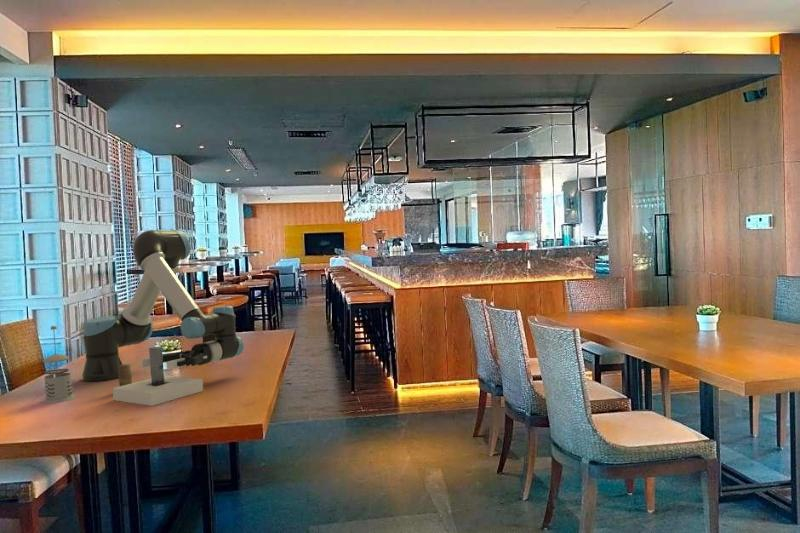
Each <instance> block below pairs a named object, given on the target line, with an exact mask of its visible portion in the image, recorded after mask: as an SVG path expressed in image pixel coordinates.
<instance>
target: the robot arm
mask: <svg viewBox="0 0 800 533" xmlns="http://www.w3.org/2000/svg"><path fill="white" fill-rule="evenodd" d="M191 248H192V246H191V242H190V239H189V237H188V235H187V234H186V233H185V232H184V231H182V230H179V229H170V230H169V229H167V230H166V229H165V230H164V229H163V230H160V229H159V230H158V229H157V230H156V229H154V230H153V229H151V230H145V231H143V232H141V233H140V234H139V235H138V236H137V237H136V238H135V240H134V242H133V245H132V253H133V257H134V260H135V262H136V263H137V265H138V266H139V268H140V270H142V271H144V272H143V274H142V276H141V279H140V281H139V283H138V285H137V288H136V290H135V292H134V294H133V297H132V298H131V300H130V303H129V305H128V306H127V307H125V308H123V309H122V311H121V313H120V316H118V317H116V316H115V315H104V316H100V317H95V318H92V319H89V320H87V321H85V323H84V324H83V333H82V334H83V337H84V338H83V339H84V349H85V350H84V351H85V363H84V367H83V371H82V374H81V375H82V376H81V377H82V381H84V382H102V381H108V380H113V379H115V380H116V379H117V378H118V379H119V371H118V366H120V365H124V364H123V362H122V360H121V358H120V355H119V354H120V353H119V348H121V347H128V346H132V345H139V344H141V343H143V342H147V341H148V340H149V338H150V337H151V336H152V334H153V331H154V327H153V326H154V325H153V321H152V317H151V313H152V311H153V308H154V307H155V304H156V302H157V300H158V297H159V295H160V294H162V296H163V297H164V298H165V300H166V302H167V303H168V304H169V305H170V307H171V308H172V310H173V311H174V312H175V314H176V315H177V317H178V318H179V320H180V321H181V322H180V324H179V325H180V326H179V329H180V332H181V335H182V336H183V337H184V338H186V339H188V340H189V339H190V340H191V339H200V338H202V337H203V336H207V335H212V334H215V340H213V341H209V342H204V343H202V342H201V343H196V344H194V345H193V346H192V347H191V350H189V349H188V350H185V351H184V350H181V351H176V352H168V353H162V355H163V364H164V363H166V370H167V371H171V370H174V369H175V370H176V369H179V368H184V367H189V366H192V367H194V366H196V365H197V366H203V365H207V364H209V363H211V364H215V362H218V361H222V360H226V359H232V358H234V357H238V356H239V355H241V354H242V353H243V351H244V347H245V346H244V345H245V344H244V342H243V340H242V338H241V337H240V336H237V332H236V321H235V320H236V318H235V319H234V317H235V316H234V314H235V311H234V307H233V306H232V305H218V306H214V307H213V308H212V312H211V313H208V314H207V313H206V314H204V313H203V311H202V310H201V309H200V307H199V306H198V304H197V303H196V301H195V300H194V299H193V297H192V296H191V295H190V293H189V292H188V289H186V288H185V286H184V285H183V283H182V281H180V279H179V278H178V276H177V275H176V274H175V272H174V271H173V270H175V269H176V268H177V266H178V265H179V263H180V261H181V260H185V259H187V258H188V257H189V256H190V253H191ZM140 364H141V368H147V367H150V357H146V358H141V359H140Z"/></svg>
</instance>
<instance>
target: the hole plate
mask: <svg viewBox="0 0 800 533" xmlns="http://www.w3.org/2000/svg"><path fill="white" fill-rule="evenodd" d="M164 382H165V384H163V385H159V386H152V381H151V378H148V379H144V380H141V381H136V382H132V383H131V384H127V385H123V386H120V385H119V386H116V387H113V388H112V397H113V401H117V402H124V403H131V404H137V405H143V406H150V407H151V406H152V407H153V406H156V405H159V404H163V403H167V402H171V401H174V400H177V399H180V398H184V397H186V396H191V395H195V394H197V393H201V392H203V391H204V386H203V384H204V383H203V379H202V378H193V377H186V376H185V377H184V376H175V375H165V374H164Z"/></svg>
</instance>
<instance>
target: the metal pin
mask: <svg viewBox="0 0 800 533" xmlns="http://www.w3.org/2000/svg"><path fill="white" fill-rule="evenodd" d="M148 353H149V358H150V366H149V367H150V379H151V381H152V386H159V385H163V384H165V382H164V375H165V372H164V371H165V370H164V363H163V355H162V354H163V347H162V346H154V347H149V348H148Z"/></svg>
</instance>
